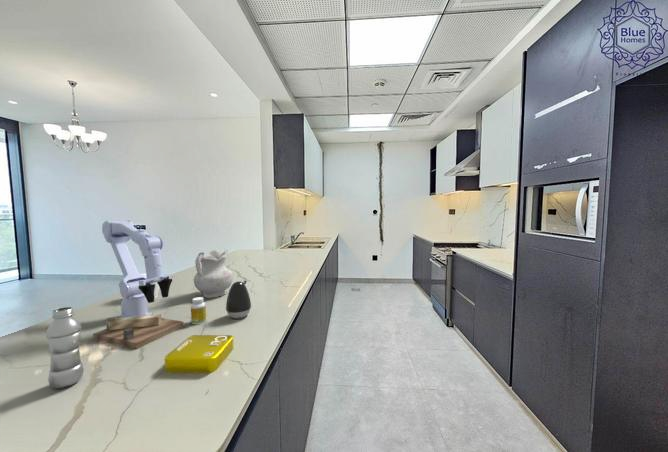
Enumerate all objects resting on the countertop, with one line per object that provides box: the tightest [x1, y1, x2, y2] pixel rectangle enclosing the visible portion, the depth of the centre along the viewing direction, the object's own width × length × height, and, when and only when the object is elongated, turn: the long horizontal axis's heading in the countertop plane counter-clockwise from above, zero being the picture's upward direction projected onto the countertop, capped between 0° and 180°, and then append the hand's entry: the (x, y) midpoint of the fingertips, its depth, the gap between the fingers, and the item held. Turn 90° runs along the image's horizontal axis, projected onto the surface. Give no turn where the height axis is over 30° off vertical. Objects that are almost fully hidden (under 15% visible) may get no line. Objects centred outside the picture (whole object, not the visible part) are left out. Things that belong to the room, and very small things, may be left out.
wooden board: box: [92, 315, 185, 350], centre depth 100 cm, size 22×18×5 cm
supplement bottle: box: [190, 296, 207, 325], centre depth 109 cm, size 5×5×10 cm
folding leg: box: [105, 313, 162, 330], centre depth 100 cm, size 17×3×4 cm, turn 106°
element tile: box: [164, 334, 234, 374], centre depth 82 cm, size 15×15×5 cm
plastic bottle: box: [45, 306, 85, 389], centre depth 69 cm, size 6×7×20 cm
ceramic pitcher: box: [193, 249, 234, 299], centre depth 144 cm, size 22×20×25 cm
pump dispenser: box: [225, 280, 252, 320], centre depth 114 cm, size 10×10×15 cm
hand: (158, 299), depth 108 cm, fingers open, 7 cm apart
